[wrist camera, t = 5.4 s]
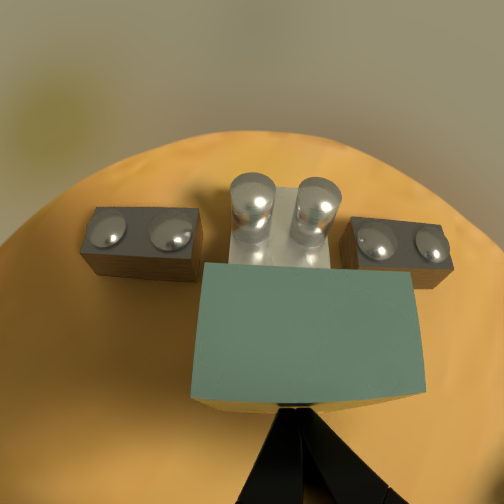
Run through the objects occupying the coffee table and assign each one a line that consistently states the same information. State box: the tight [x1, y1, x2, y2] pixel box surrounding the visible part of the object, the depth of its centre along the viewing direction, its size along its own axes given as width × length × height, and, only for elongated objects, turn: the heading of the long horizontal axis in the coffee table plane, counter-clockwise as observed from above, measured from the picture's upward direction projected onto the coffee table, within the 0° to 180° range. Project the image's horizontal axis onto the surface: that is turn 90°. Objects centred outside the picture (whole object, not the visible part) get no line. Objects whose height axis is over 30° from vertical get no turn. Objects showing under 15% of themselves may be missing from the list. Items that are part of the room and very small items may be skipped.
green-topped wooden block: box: [190, 173, 426, 413], centre depth 12 cm, size 12×5×9 cm, turn 178°
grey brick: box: [80, 207, 454, 289], centre depth 16 cm, size 3×20×3 cm, turn 88°
